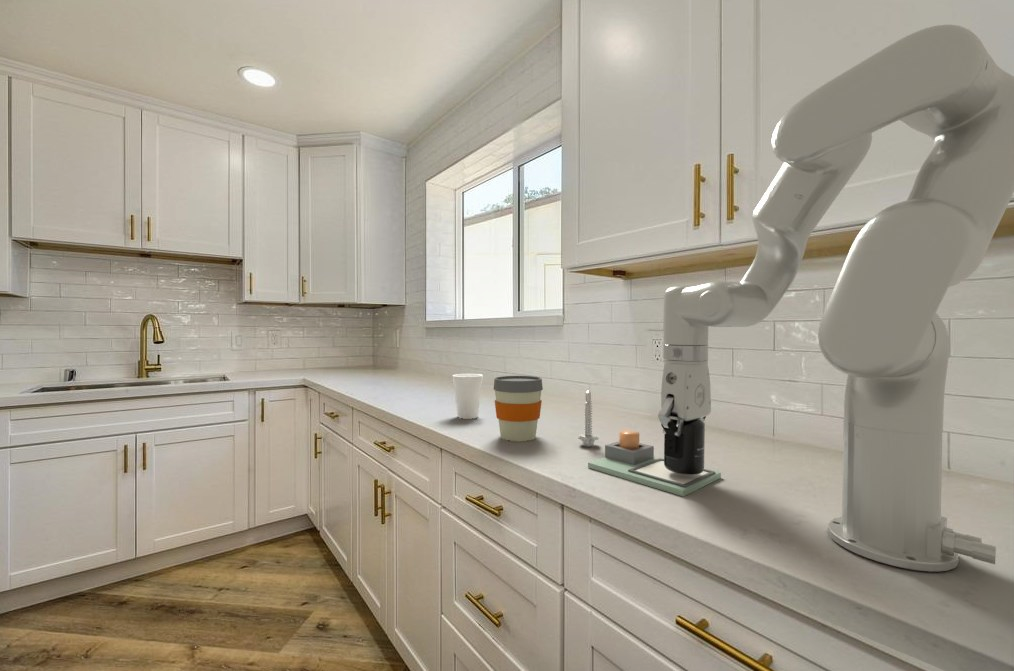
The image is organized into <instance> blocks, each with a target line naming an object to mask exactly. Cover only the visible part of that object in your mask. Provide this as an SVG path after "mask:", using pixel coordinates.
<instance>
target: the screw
mask: <svg viewBox="0 0 1014 671" xmlns="http://www.w3.org/2000/svg"><path fill="white" fill-rule="evenodd" d="M584 398H585V401H584V433H580V434H579V435H578V436H577V439H579V440H581V441H582V446H583V447H588V448H591V447H594V446H595V444H594V443H595V442H596V441H598V440H599V436H598V435H597V434H595V433H593V423H592V422H593V418H592V417H593V411H592V410H593V403H592V393H591V391H589V390H587V391H586V392H585V397H584Z"/></svg>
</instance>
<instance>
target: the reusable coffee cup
mask: <svg viewBox="0 0 1014 671" xmlns="http://www.w3.org/2000/svg"><path fill="white" fill-rule="evenodd" d="M543 389H544V387H543V378H542V377H539V376H533V375H503V376H497V377H495V378H494V380H493V390H494V395H495V399H494V407H495V414H496V418H497V419H498V426H499V433H500V438H501V439H502V440H504V439H505V440H504V441H508V440H510V441H509V442H528V441H527V440H529V441H533V440H535V439H536V437H537V430H538V429H537V428H538V421H539V419H540V418H541V417H540V416H541V409H542V402H543V401H542V399H541V396H542V391H543ZM532 439H533V440H532Z"/></svg>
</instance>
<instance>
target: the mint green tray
mask: <svg viewBox="0 0 1014 671" xmlns="http://www.w3.org/2000/svg"><path fill="white" fill-rule="evenodd" d="M654 447H655V446H654V445H651V444H645V443H641V442H639V448H638V449H634V450H630V449H626V448H622V447H619V440H618V441H615V442H612V443H608V444H605V445H604V457H601V458H598V459H595V460H592V461H588V463H587V468H588V469H593V470H595V471H597V472H602V473H605V474H608V475H612V476H615V477H618V478H622V479H624V480H626V481H627V480H628V481H631V482H634V483H638V484H640V485H644V486H647V487H651V488H654V489H658V490H661V491H664V492H667V493H670V494H674V495H678V496H680V497H685V496H687V495H689V494H691V493H693V492H695V491H697V490H699V489H701V488H703V487H705V486H707V485H709V484H711V483H713V482H715V481H718V480H719V479H721V478H722V472H721V471H716V470H712V469H708V468H705V467H704V471H703V472H702V473H700V474H694V475H688V474H680V473H675V472H672V471H670V470H668V469H666V468H665V466H664V457H660V456H656V455H655V454H654V450H655V448H654Z"/></svg>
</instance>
